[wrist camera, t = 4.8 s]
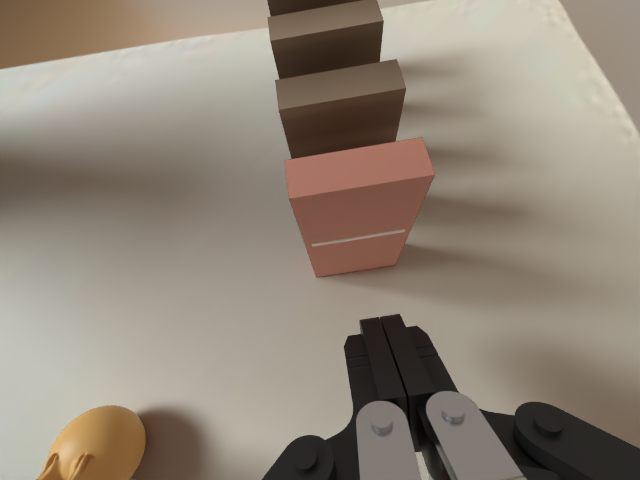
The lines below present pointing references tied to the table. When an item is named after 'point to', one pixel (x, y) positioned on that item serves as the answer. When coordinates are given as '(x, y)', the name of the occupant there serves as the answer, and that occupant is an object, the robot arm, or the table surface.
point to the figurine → (97, 447)
